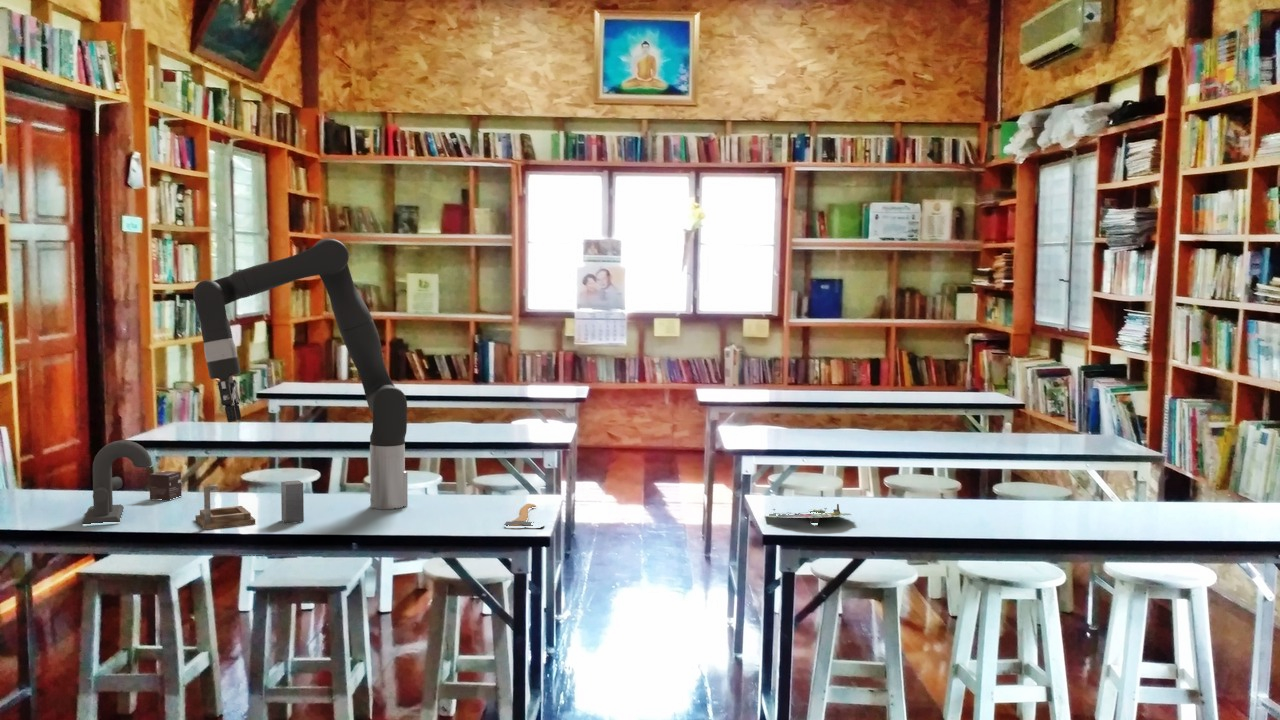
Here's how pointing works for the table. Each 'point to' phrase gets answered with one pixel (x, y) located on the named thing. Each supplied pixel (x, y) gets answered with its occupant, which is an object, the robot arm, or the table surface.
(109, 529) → the table surface
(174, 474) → the box
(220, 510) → the keeper
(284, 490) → the grey upright tablet
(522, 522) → the tan hook stand
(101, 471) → the faucet
